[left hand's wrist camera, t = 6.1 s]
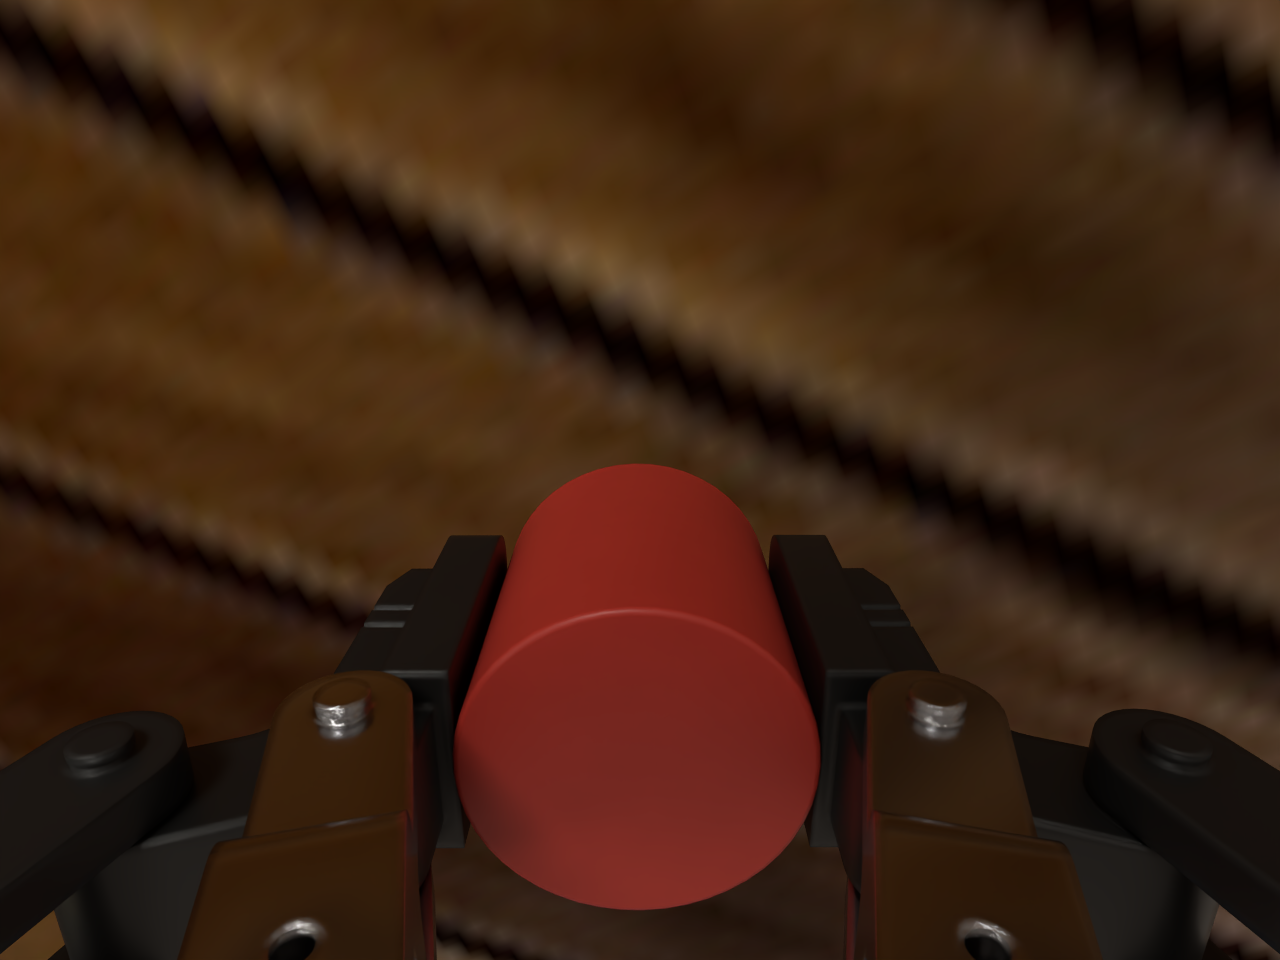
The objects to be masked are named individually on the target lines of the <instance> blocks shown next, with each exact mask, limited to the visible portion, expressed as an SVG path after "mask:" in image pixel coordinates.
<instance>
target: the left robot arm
mask: <svg viewBox="0 0 1280 960" xmlns="http://www.w3.org/2000/svg"><path fill="white" fill-rule="evenodd" d="M768 572H769V575H770V578H771V581H772V584H773V587H774V591H775V594H776V597H777V600H778V603H779V606H780V609H781V612H782V616H783V619H784V622H785V625H786V628H787V631H788V634H789V638H790V641H791V644H792V647H793V650H794V653H795V656H796V659H797V663H798V666H799V669H800V672H801V675H802V678H803V681H804V685H805V688H806V691H807V694H808V697H809V700H810V703H811V706H812V710H813V713H814V716H815V719H816V722H817V727H818V732H819V737H820V742H821V769H820V777H819V783H818V787H817V790H816V794H815V797H814V800H813V804H812V806H811V808H810V810H809V812H808V815H807V817H806V819H805V821H804V824H805V828H806V832H807V836H808V840H809V844H810V847H839V851H840V854H841V858H842V861H843V865H844V868H845V871H846V873H847V885H846V894H845V920H844V955H843V960H1232V959H1231V958H1230V957H1229V956H1227V955H1226V954H1225V953H1224V952H1223V951H1222V950H1221V949H1219V948H1218V947H1217V946H1216V945H1215V944H1214V943H1213V942H1211V941H1210V940H1209V939H1208V938H1209V935H1210V932H1211V929H1212V926H1213V923H1214V919H1215V916H1216V913H1217V910H1218V907H1219V904H1220V905H1221V906H1222V907H1223V908H1224V909H1226V910H1227V911H1228V912H1229V913H1230V914H1232V915H1233V916H1234V917H1235V918H1237V919H1238V920H1239V921H1240V922H1241V923H1243V924H1244V925H1245V926H1246V927H1248V928H1249V929H1250V930H1251V931H1252V932H1254V933H1255V934H1256V935H1257V936H1259V937H1260V938H1261V939H1262V940H1263V941H1265V942H1266V943H1267V944H1268V945H1269V946H1271V947H1272V948H1273V949H1274V950H1276V951H1277V952H1278V953H1279V954H1280V771H1279V770H1277V769H1275V768H1274V767H1272V766H1271V765H1269V764H1267V763H1266V762H1264V761H1263V760H1261V759H1260V758H1258V757H1256V756H1255V755H1253V754H1252V753H1250V752H1248V751H1247V750H1245V749H1244V748H1242V747H1240V746H1239V745H1237V744H1236V743H1234V742H1233V741H1231V740H1229V739H1228V738H1226V737H1225V736H1223V735H1221V734H1219V733H1218V732H1216V731H1214V730H1212V729H1210V728H1208V727H1206V726H1204V725H1202V724H1199V723H1197V722H1194V721H1191V720H1189V719H1186V718H1183V717H1180V716H1176V715H1173V714H1169V713H1164V712H1160V711H1154V710H1147V709H1122V710H1117V711H1112V712H1110V713H1107V714H1105V715H1103V716H1102V717H1100V718H1099V719H1098V720H1097V721H1096V723H1095V724H1094V727H1093V731H1092V735H1091V740H1090V744H1089V747H1084V746H1079V745H1074V744H1069V743H1064V742H1059V741H1054V740H1049V739H1044V738H1039V737H1034V736H1030V735H1025V734H1021V733H1018V732H1015V731H1012V730H1010V727H1009V723H1008V719H1007V716H1006V714H1005V711H1004V709H1003V708H1002V707H1001V705H1000V704H999V703H998V702H997V701H996V700H995V699H994V698H993V697H992V696H991V695H990V694H988V693H987V692H986V691H984V690H983V689H981V688H979V687H978V686H976V685H974V684H972V683H970V682H968V681H966V680H963V679H960V678H957V677H955V676H951V675H947V674H944V673H940V672H939V670H938V668H937V666H936V665H935V663H934V661H933V660H932V658H931V656H930V655H929V653H928V651H927V650H926V648H925V646H924V645H923V643H922V641H921V640H920V638H919V636H918V634H917V633H916V631H915V629H914V628H913V627H911V626H910V621H909V619H908V618H907V616H906V614H905V613H904V611H903V610H901V609H900V604H899V603H898V601H897V599H896V597H895V596H894V594H893V592H892V591H891V589H890V587H889V586H888V585H887V584H885V583H884V582H883V581H881V580H880V579H878V578H877V577H875V576H874V575H872V574H871V573H869V572H868V571H867V570H865V569H864V568H842V567H841V565H840V563H839V561H838V559H837V557H836V555H835V553H834V551H833V549H832V547H831V545H830V543H829V541H828V539H827V537H826V536H825V535H773V537H772V540H771V544H770V553H769V569H768ZM506 573H507V557H506V547H505V541H504V538H503V536H501V535H453V536H450V537H449V538H448V540H447V542H446V544H445V546H444V548H443V550H442V552H441V554H440V556H439V558H438V560H437V562H436V563H435V565H434V567H433V569H411V570H410V571H408V572H407V573H405V574H404V575H402V576H401V577H399V578H398V579H396V580H395V581H393V582H392V583H391V584H389V585H388V586H387V587H386V588H385V590H384V591H383V593H382V595H381V596H380V598H379V600H378V601H377V603H376V605H375V609H374V610H372V611H371V613H370V615H369V616H368V618H367V620H366V621H365V623H364V627H362V628H361V630H360V631H359V633H358V634H357V636H356V638H355V639H354V641H353V643H352V644H351V646H350V648H349V649H348V651H347V653H346V654H345V656H344V658H343V659H342V661H341V663H340V664H339V666H338V668H337V669H336V671H335V672H334V674H333V675H329V676H325V677H323V678H320V679H317V680H314V681H312V682H310V683H308V684H306V685H304V686H302V687H301V688H299V689H297V690H296V691H294V692H293V693H292V694H290V695H289V696H288V697H287V698H286V699H285V700H284V701H283V702H282V703H281V704H280V705H279V707H278V708H277V709H276V711H275V714H274V716H273V719H272V723H271V727H270V729H268V730H265V731H262V732H259V733H255V734H252V735H248V736H244V737H239V738H234V739H229V740H224V741H219V742H214V743H209V744H204V745H199V746H194V747H189V748H188V747H187V743H186V738H185V734H184V730H183V727H182V725H181V724H180V722H179V721H178V720H177V719H175V718H174V717H172V716H170V715H167V714H164V713H160V712H154V711H132V712H124V713H117V714H113V715H108V716H104V717H101V718H97V719H94V720H91V721H88V722H86V723H83V724H80V725H78V726H75V727H73V728H71V729H69V730H67V731H65V732H63V733H61V734H59V735H58V736H56V737H54V738H52V739H51V740H49V741H47V742H46V743H44V744H43V745H41V746H39V747H38V748H36V749H35V750H33V751H32V752H30V753H28V754H27V755H25V756H24V757H22V758H20V759H19V760H17V761H16V762H14V763H12V764H11V765H9V766H8V767H6V768H5V769H3V770H1V771H0V954H1V953H2V952H3V951H4V950H6V949H7V948H8V947H9V946H10V945H12V944H13V943H14V942H15V941H17V940H18V939H19V938H20V937H21V936H23V935H24V934H25V933H26V932H28V931H29V930H30V929H31V928H32V927H34V926H35V925H36V924H37V923H39V922H40V921H41V920H42V919H43V918H45V917H46V916H47V915H48V914H49V913H51V912H52V911H53V910H54V912H55V915H56V918H57V921H58V924H59V927H60V930H61V933H62V936H63V939H64V943H65V945H64V946H63V947H62V948H61V949H59V950H58V951H57V952H56V953H55V954H54V955H53V956H51V957H50V958H49V959H48V960H437V955H436V920H435V894H434V885H433V876H432V867H431V862H432V858H433V855H434V852H435V848H464V847H465V843H466V839H467V835H468V831H469V827H470V823H471V822H470V821H469V819H468V817H467V815H466V813H465V811H464V808H463V805H462V803H461V800H460V798H459V795H458V791H457V787H456V782H455V777H454V771H453V754H452V753H453V744H454V734H455V730H456V726H457V723H458V719H459V715H460V712H461V709H462V706H463V703H464V700H465V697H466V694H467V691H468V688H469V685H470V682H471V679H472V676H473V673H474V670H475V667H476V664H477V661H478V658H479V654H480V651H481V648H482V645H483V642H484V639H485V636H486V633H487V630H488V627H489V624H490V621H491V618H492V615H493V612H494V609H495V606H496V603H497V600H498V597H499V594H500V591H501V588H502V585H503V582H504V579H505V576H506Z"/></svg>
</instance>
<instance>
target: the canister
mask: <svg viewBox="0 0 1280 960" xmlns="http://www.w3.org/2000/svg"><path fill="white" fill-rule="evenodd" d="M452 754H453V771H454V777H455V782H456V787H457V791H458V795H459V798H460V800H461V803H462V805H463V808H464V811H465V813H466V815H467V817H468V819H469V821H470V822H471V824H472V826H473V828H474V829H475V831H476V833H477V834H478V835H479V837H480V838H481V839H482V840H483V842H484V843H485V844H486V846H487V847H488V848H489V849H490V850H491V851H492V852H493V853H494V854H495V855H496V856H497V857H498V858H499V859H500V860H501V861H502V862H503V863H504V864H506V865H507V866H508V867H509V868H511V869H512V870H513V871H515V872H516V873H517V874H518V875H520V876H521V877H523V878H525V879H526V880H528V881H530V882H531V883H533V884H535V885H536V886H538V887H540V888H543V889H545V890H547V891H549V892H551V893H553V894H556V895H558V896H561V897H564V898H567V899H570V900H573V901H576V902H579V903H584V904H588V905H593V906H597V907H604V908H612V909H620V910H652V909H665V908H671V907H676V906H682V905H687V904H691V903H694V902H698V901H701V900H705V899H708V898H711V897H713V896H716V895H718V894H721V893H723V892H726V891H728V890H730V889H732V888H734V887H735V886H737V885H739V884H741V883H743V882H745V881H747V880H748V879H750V878H751V877H752V876H754V875H755V874H757V873H758V872H760V871H761V870H763V869H764V868H765V867H766V866H767V865H769V864H770V863H771V862H772V861H773V860H774V859H775V858H776V857H777V856H779V855H780V854H781V852H782V851H783V850H784V849H785V848H786V847H787V846H788V844H789V843H790V842H791V841H792V840H793V838H794V837H795V835H796V834H797V832H798V831H799V829H800V828H801V826H802V825H803V823H804V821H805V819H806V817H807V815H808V812H809V810H810V808H811V806H812V804H813V800H814V797H815V794H816V790H817V787H818V783H819V777H820V769H821V742H820V737H819V732H818V727H817V722H816V719H815V716H814V713H813V710H812V706H811V703H810V700H809V697H808V694H807V691H806V688H805V685H804V681H803V678H802V675H801V672H800V669H799V666H798V663H797V659H796V656H795V653H794V650H793V647H792V644H791V641H790V638H789V634H788V631H787V628H786V625H785V622H784V619H783V616H782V612H781V609H780V606H779V603H778V600H777V597H776V594H775V591H774V587H773V584H772V581H771V578H770V575H769V572H768V569H767V565H766V562H765V559H764V556H763V553H762V550H761V547H760V544H759V542H758V539H757V536H756V534H755V532H754V530H753V528H752V527H751V525H750V523H749V521H748V520H747V518H746V517H745V516H744V514H743V513H742V512H741V510H740V509H739V508H738V507H737V506H736V505H735V504H734V503H733V502H732V501H731V500H730V499H729V498H728V497H727V496H726V495H725V494H723V493H722V492H721V491H719V490H718V489H717V488H716V487H714V486H712V485H711V484H709V483H707V482H706V481H704V480H702V479H701V478H698V477H696V476H694V475H691V474H689V473H687V472H684V471H680V470H677V469H673V468H670V467H665V466H659V465H652V464H625V465H615V466H611V467H606V468H602V469H598V470H595V471H592V472H589V473H587V474H584V475H581V476H579V477H577V478H576V479H574V480H572V481H570V482H568V483H566V484H565V485H563V486H562V487H560V488H559V489H557V490H556V491H554V492H553V493H552V494H551V495H550V496H549V497H548V498H546V499H545V500H544V501H543V502H542V503H541V504H540V505H539V506H538V508H537V509H536V510H535V511H534V512H533V514H532V515H531V516H530V518H529V519H528V521H527V523H526V524H525V526H524V527H523V529H522V531H521V534H520V536H519V538H518V540H517V543H516V545H515V548H514V552H513V555H512V558H511V561H510V564H509V567H508V570H507V573H506V576H505V579H504V582H503V585H502V588H501V591H500V594H499V597H498V600H497V603H496V606H495V609H494V612H493V615H492V618H491V621H490V624H489V627H488V630H487V633H486V636H485V639H484V642H483V645H482V648H481V651H480V654H479V658H478V661H477V664H476V667H475V670H474V673H473V676H472V679H471V682H470V685H469V688H468V691H467V694H466V697H465V700H464V703H463V706H462V709H461V712H460V715H459V719H458V723H457V726H456V730H455V734H454V744H453V753H452Z"/></svg>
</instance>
